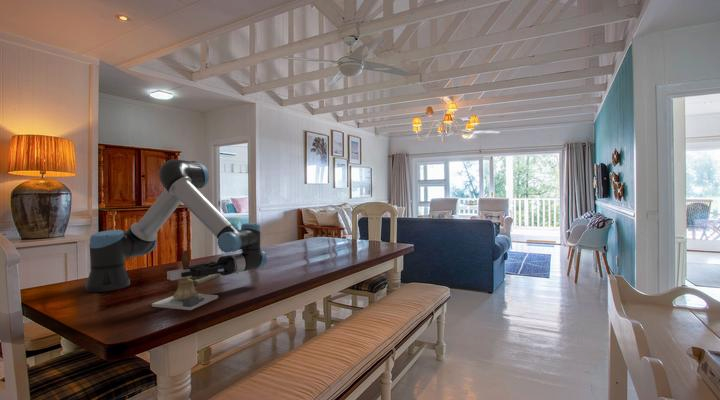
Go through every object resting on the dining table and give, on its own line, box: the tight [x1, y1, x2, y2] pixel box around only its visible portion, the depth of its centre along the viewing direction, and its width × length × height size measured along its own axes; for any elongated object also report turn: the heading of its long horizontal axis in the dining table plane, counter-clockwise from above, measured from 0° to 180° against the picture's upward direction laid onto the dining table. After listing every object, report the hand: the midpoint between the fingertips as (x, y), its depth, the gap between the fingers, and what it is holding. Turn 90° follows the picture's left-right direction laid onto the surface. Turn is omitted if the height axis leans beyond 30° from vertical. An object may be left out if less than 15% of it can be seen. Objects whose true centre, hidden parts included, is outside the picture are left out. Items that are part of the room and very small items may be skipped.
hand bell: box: [172, 250, 200, 298], centre depth 127 cm, size 8×8×16 cm
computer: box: [182, 274, 221, 286], centre depth 159 cm, size 16×8×3 cm, turn 167°
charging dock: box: [151, 293, 219, 311], centre depth 127 cm, size 16×14×3 cm
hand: (169, 275), depth 123 cm, fingers closed on hand bell, 2 cm apart
